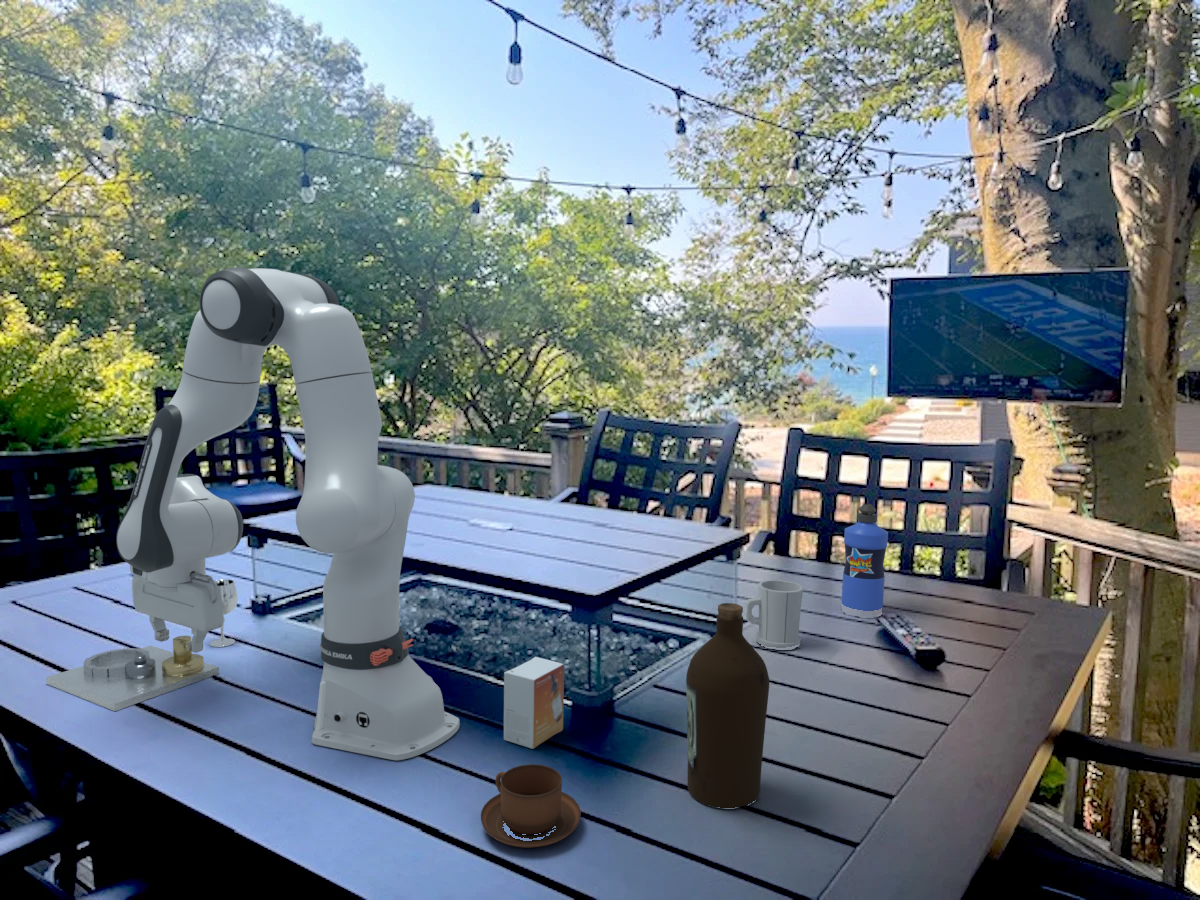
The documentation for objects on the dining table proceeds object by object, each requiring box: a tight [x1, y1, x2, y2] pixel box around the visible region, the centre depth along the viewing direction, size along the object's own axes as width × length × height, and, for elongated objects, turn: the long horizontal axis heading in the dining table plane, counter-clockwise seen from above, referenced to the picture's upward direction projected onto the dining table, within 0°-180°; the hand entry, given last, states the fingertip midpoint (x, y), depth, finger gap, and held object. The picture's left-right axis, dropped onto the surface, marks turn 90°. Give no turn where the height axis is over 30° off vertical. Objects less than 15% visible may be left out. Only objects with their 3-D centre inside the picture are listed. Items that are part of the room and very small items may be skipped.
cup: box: [744, 579, 804, 648], centre depth 161 cm, size 10×9×12 cm
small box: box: [503, 656, 565, 750], centre depth 120 cm, size 8×6×10 cm
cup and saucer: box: [480, 763, 582, 849], centre depth 97 cm, size 12×12×6 cm
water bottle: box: [840, 503, 889, 611], centre depth 182 cm, size 9×9×25 cm
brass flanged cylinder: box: [162, 635, 205, 677], centre depth 139 cm, size 6×6×6 cm
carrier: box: [45, 645, 220, 712], centre depth 138 cm, size 20×18×4 cm
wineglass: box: [209, 579, 239, 648], centre depth 155 cm, size 6×6×12 cm
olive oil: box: [685, 602, 770, 808], centre depth 104 cm, size 11×11×25 cm
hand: (178, 645), depth 139 cm, fingers open, 8 cm apart
